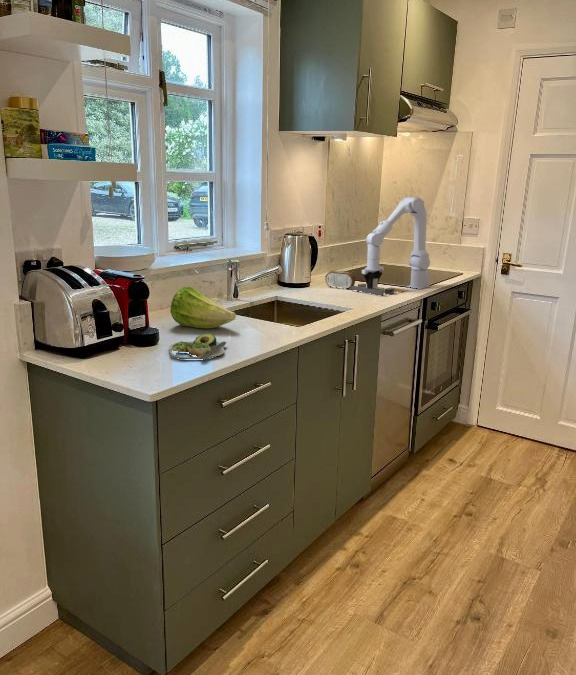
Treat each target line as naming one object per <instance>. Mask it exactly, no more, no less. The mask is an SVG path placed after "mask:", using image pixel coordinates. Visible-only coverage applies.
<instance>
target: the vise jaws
mask: <svg viewBox="0 0 576 675" xmlns="http://www.w3.org/2000/svg"><path fill="white" fill-rule="evenodd" d="M387 288H388V289H386V288H384V289H385V291H383V290H377V289H371V288H367V284H366V283H359V284H357V285H354V286H351V288H350V290H351V289H352V290H357V291H362V292H366V293H371V294H370V295H372V294H375V295H374V296H378V295H381V296H380V297H384V296H383V295H387V294H390V295H393V294H392V293H395V292H394V288H395V287H393V288H390V287H387ZM366 293H365V294H366Z"/></svg>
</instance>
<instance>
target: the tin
mask: <svg viewBox="0 0 576 675" xmlns="http://www.w3.org/2000/svg"><path fill="white" fill-rule="evenodd" d="M325 283H326V285H327V286H328V287H329V286H335V287H342V288H350V289H351V286H355V284H356V278H355V276H354V274H353V273H351V272H349V271H343V270H330V271H329V272H327V274H325Z"/></svg>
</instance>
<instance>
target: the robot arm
mask: <svg viewBox="0 0 576 675" xmlns="http://www.w3.org/2000/svg"><path fill="white" fill-rule="evenodd" d="M408 213H409V214H411V215H412V216H413V217H414V223H413V224H414V226H413V227H414V228H413V229H414V230H413V232H414V234H413V250H412V251H411V252H410V257H409V260H408V265H409V266H410V269H411V271H410V284H409V285H406V287H407V288H410V287H411V288H410V289H416V288H417V289H418V290H423V289H427V288H431V285H430V275H431V274H430V271H429V269H428V268H429V267H430V265H431V260H430V256H429V255H430V254H429V253H428V251H427V250H426V242H427V241H426V240H427V239H426V238H427V237H426V236H427V210H426V207H425V201H424V200H423V199H422V198H421V197H418V196H417V197H411V196H404V197H403V198H402V200H401V201H399V202H398V205H397V206H396V208H395V209H394V210H393V212H392V213H391V214H390V215H389V216H388V218H387V219H386V220H382V221H380V222H379V225H377V227H376V228H375V229H373V230H372V232H371V233H369V234H368V235H367V236H366V238H365V243H366V245H367V258H366V267H365V268H364V269H361V274H362V277H364V279H365V284H366V288H372V283H373V278H378V283H379V282H380V279H381V277H382V275H383V272H384V269H385V268H384V266H380V259H381V258H380V256H381V245H382V244H384V243H383V242H384V239H385V237H386V236H387V235H388V234H389V233H390V231H392V229H393V224H395V223H396V222H397V221H398V220H399V219H400V218H401V217H402V216H403V215H405V214H408Z"/></svg>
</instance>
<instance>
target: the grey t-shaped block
mask: <svg viewBox="0 0 576 675" xmlns="http://www.w3.org/2000/svg"><path fill="white" fill-rule="evenodd" d="M378 284H379V282H378V278H373V283H372V288H371V289H377V290H383V291H384V289H385V287H380V286H378ZM384 292H385V291H384Z"/></svg>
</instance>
